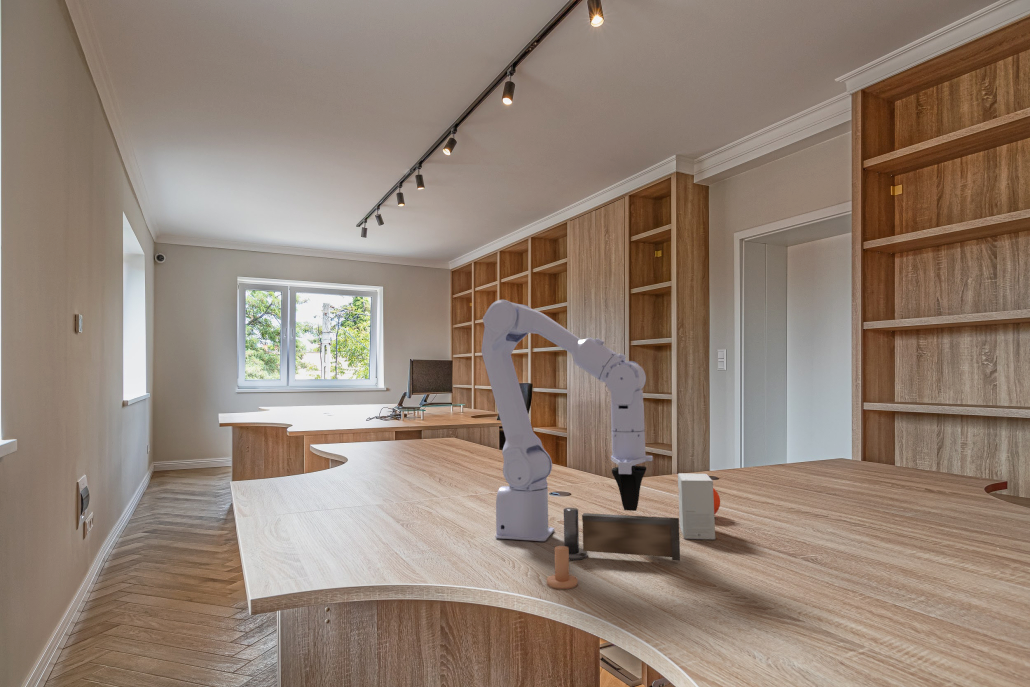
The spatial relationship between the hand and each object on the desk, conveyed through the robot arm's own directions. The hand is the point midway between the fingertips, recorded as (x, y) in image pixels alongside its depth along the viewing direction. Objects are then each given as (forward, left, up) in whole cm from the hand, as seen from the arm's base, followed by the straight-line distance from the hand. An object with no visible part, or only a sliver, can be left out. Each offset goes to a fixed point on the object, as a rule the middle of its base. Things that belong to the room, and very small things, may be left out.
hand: (630, 509), depth 99 cm
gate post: (-9, -7, -6) cm, 13 cm away
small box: (+11, +11, -7) cm, 17 cm away
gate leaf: (0, -7, -6) cm, 9 cm away
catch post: (-8, -20, -6) cm, 22 cm away
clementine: (+12, +24, -7) cm, 28 cm away
